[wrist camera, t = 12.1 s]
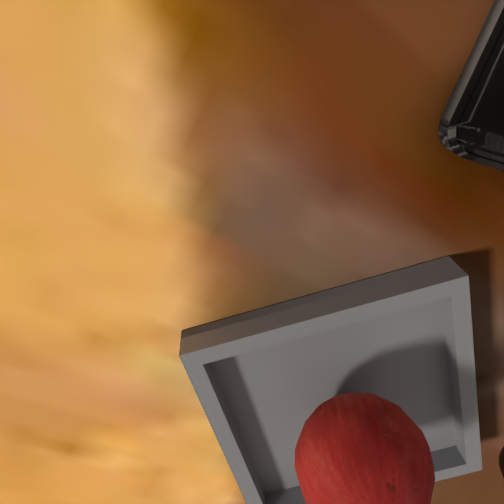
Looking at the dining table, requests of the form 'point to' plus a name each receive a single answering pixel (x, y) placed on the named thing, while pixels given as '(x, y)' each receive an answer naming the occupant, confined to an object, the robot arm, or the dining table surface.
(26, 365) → the dining table surface
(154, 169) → the dining table surface
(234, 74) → the dining table surface
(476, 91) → the phone
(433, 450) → the tray
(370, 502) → the onion
